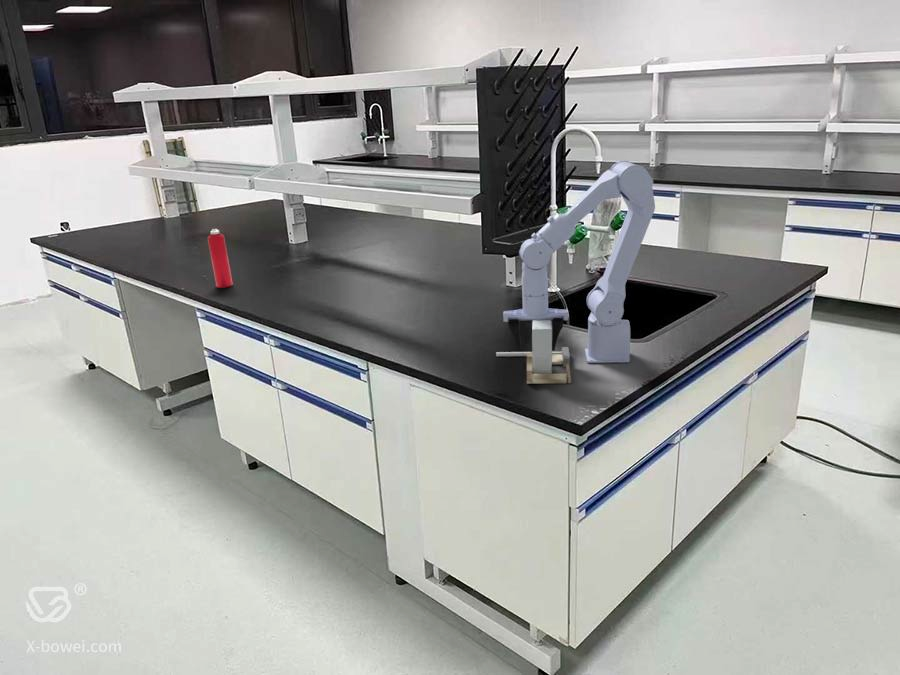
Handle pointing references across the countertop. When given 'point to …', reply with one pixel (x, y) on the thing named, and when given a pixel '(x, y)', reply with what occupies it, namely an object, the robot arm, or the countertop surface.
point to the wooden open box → (547, 377)
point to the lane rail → (564, 352)
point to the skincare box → (541, 347)
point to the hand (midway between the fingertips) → (536, 349)
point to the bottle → (219, 259)
